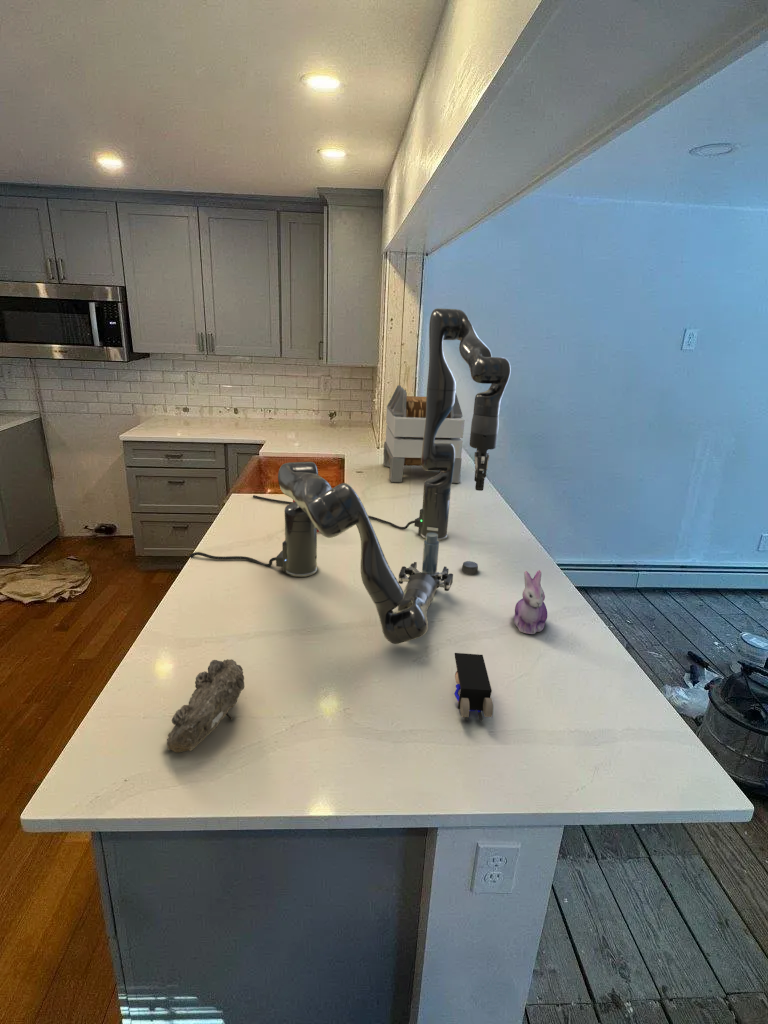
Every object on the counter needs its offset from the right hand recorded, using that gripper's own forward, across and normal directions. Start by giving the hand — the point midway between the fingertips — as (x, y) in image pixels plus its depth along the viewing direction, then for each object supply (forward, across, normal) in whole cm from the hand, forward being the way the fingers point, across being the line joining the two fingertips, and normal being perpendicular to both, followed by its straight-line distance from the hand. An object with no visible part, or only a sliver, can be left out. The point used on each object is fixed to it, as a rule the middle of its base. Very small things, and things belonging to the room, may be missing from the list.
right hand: (478, 485), depth 164 cm
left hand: (+21, +14, -12) cm, 28 cm away
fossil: (+27, +75, -50) cm, 95 cm away
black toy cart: (+27, +63, -1) cm, 68 cm away
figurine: (+27, +29, +15) cm, 43 cm away
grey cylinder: (+27, +15, -12) cm, 34 cm away
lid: (+25, 0, 0) cm, 25 cm away
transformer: (+28, -106, -22) cm, 112 cm away
